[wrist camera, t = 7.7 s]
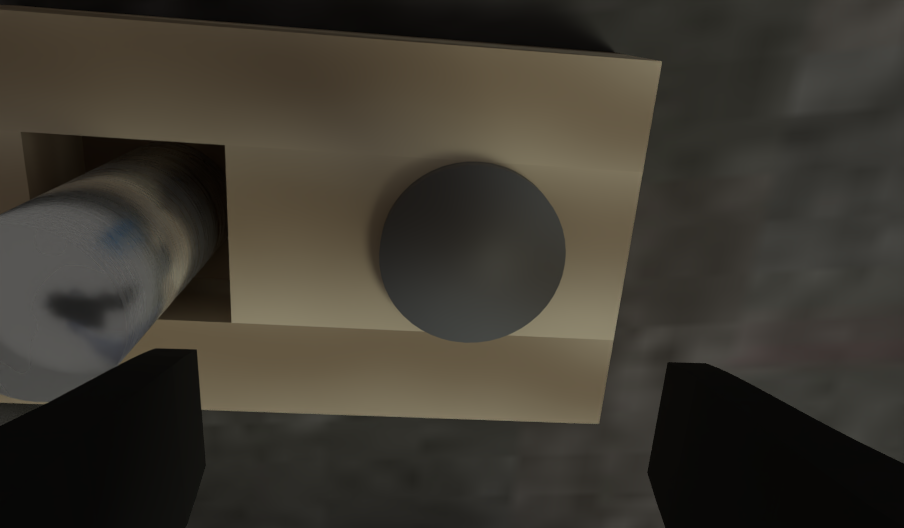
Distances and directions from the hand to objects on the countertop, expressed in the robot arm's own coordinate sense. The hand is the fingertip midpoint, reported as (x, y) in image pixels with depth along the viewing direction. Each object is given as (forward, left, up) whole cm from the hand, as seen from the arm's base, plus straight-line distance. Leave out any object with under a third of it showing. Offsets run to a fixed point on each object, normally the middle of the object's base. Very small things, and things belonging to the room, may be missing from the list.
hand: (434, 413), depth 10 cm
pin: (+1, +7, -9) cm, 11 cm away
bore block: (+1, +3, -9) cm, 10 cm away
